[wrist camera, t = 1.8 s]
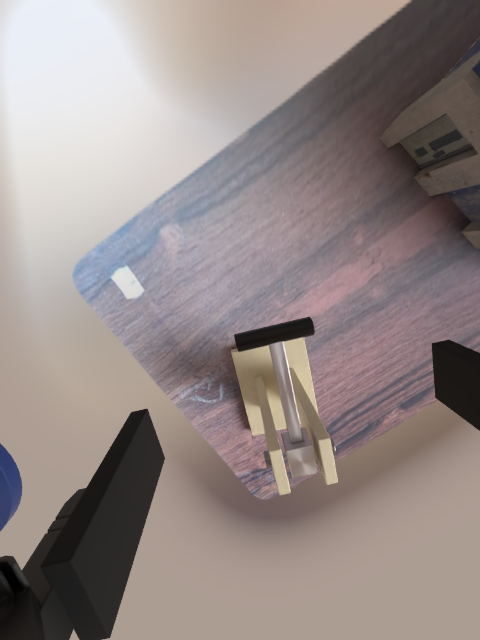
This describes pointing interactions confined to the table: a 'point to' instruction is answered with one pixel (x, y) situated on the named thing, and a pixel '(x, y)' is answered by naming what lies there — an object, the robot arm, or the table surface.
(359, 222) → the table surface
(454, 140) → the building
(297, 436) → the lever
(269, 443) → the bracket
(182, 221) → the table surface
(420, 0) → the table surface
